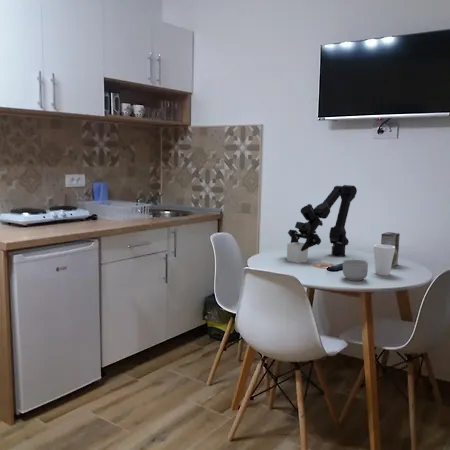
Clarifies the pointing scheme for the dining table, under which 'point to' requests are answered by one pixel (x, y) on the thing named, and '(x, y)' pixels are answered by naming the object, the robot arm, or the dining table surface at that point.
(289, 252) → the white block
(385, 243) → the coffee box
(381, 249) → the foam cup
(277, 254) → the dining table surface
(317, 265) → the plate
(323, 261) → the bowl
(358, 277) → the teacup
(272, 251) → the dining table surface
